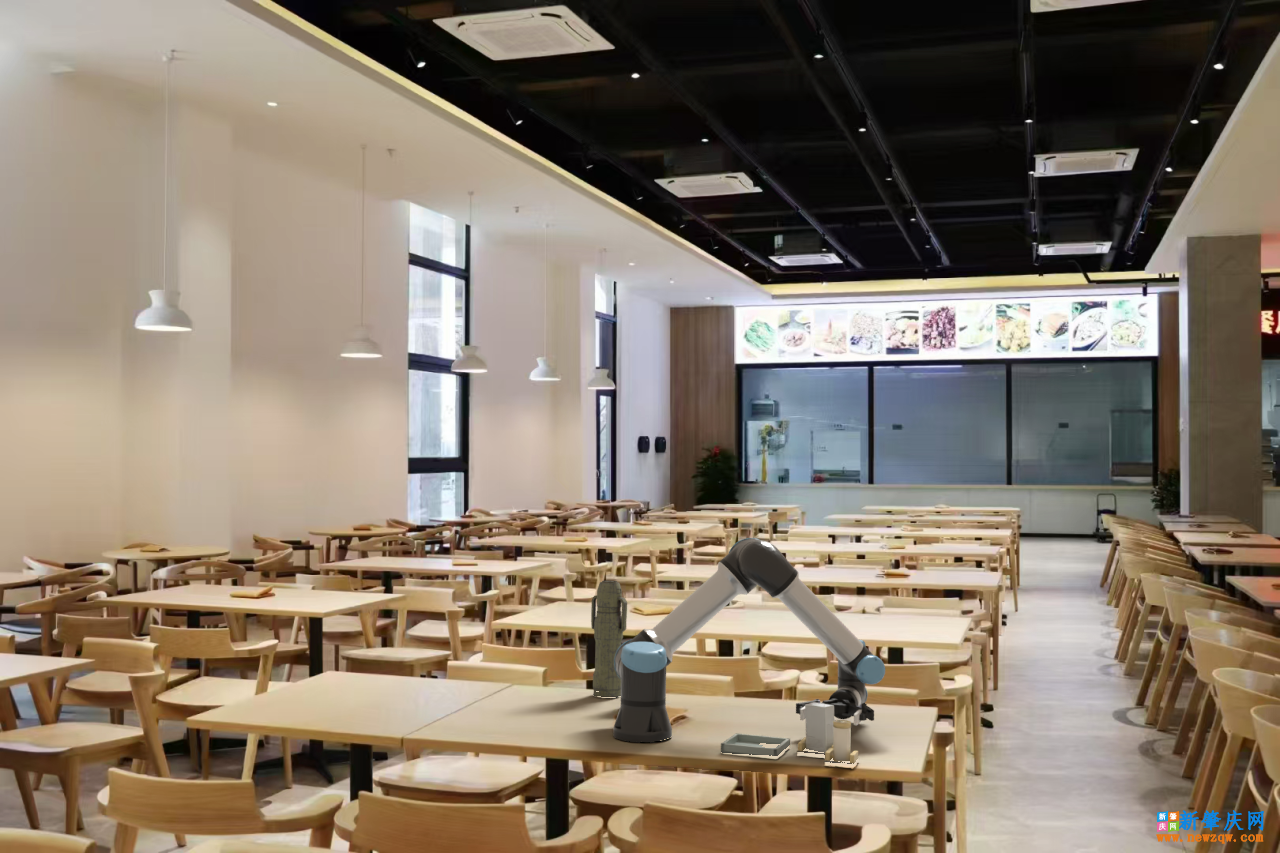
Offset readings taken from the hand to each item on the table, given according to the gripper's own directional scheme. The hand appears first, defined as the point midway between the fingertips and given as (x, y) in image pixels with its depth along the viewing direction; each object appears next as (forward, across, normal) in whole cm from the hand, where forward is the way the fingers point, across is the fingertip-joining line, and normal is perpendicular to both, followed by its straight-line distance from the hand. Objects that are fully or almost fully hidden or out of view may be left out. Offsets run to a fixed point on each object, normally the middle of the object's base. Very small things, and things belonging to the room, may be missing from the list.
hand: (828, 717), depth 289 cm
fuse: (+16, -7, -7) cm, 19 cm away
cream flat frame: (+12, -3, -7) cm, 14 cm away
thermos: (-39, +76, -8) cm, 86 cm away
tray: (+12, +15, -7) cm, 21 cm away
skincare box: (+8, 0, -8) cm, 11 cm away
